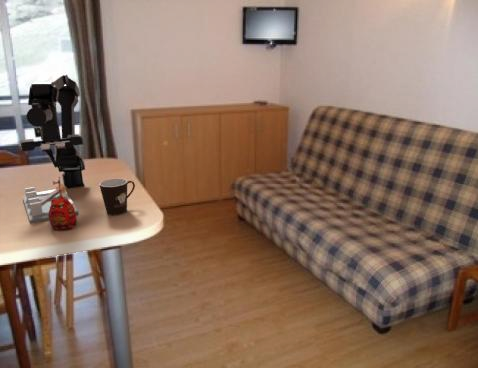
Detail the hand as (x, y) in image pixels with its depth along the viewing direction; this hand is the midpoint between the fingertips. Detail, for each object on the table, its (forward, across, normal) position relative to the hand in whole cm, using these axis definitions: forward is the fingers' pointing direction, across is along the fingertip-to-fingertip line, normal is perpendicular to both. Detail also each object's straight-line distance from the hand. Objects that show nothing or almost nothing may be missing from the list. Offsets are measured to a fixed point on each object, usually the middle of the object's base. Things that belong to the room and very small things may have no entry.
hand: (56, 167), depth 137 cm
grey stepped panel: (+12, +4, +3) cm, 14 cm away
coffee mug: (+13, -16, +20) cm, 28 cm away
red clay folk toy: (+13, +2, +23) cm, 27 cm away
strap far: (+10, +3, -3) cm, 11 cm away
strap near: (+7, +4, +9) cm, 13 cm away
